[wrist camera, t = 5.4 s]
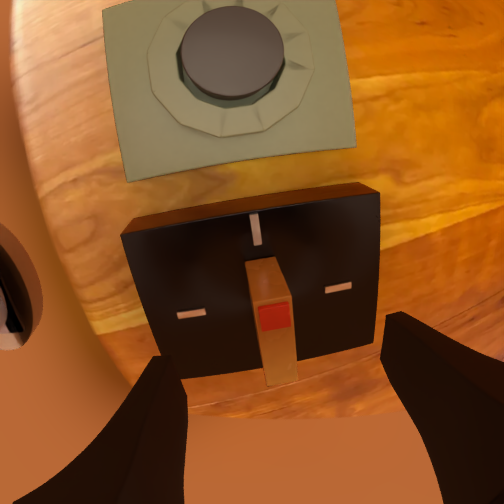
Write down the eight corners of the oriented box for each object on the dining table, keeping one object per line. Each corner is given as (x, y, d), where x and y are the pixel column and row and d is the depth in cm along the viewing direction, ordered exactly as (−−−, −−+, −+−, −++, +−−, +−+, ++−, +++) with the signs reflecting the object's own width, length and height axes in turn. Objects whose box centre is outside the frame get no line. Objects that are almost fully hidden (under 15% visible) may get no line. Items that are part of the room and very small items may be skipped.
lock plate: (175, 353, 19) (171, 382, 17) (133, 218, 16) (118, 236, 13) (358, 319, 20) (374, 344, 17) (359, 181, 16) (382, 193, 14)
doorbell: (133, 178, 15) (115, 191, 12) (109, 16, 11) (88, -3, 8) (347, 145, 15) (373, 151, 12) (323, -13, 12) (343, -34, 9)
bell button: (191, 107, 11) (187, 104, 10) (180, 27, 10) (174, 14, 8) (281, 94, 12) (291, 90, 10) (269, 16, 10) (276, 1, 9)
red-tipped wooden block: (284, 334, 16) (299, 384, 13) (257, 338, 16) (267, 391, 13) (275, 255, 14) (292, 298, 11) (244, 261, 14) (253, 306, 11)
